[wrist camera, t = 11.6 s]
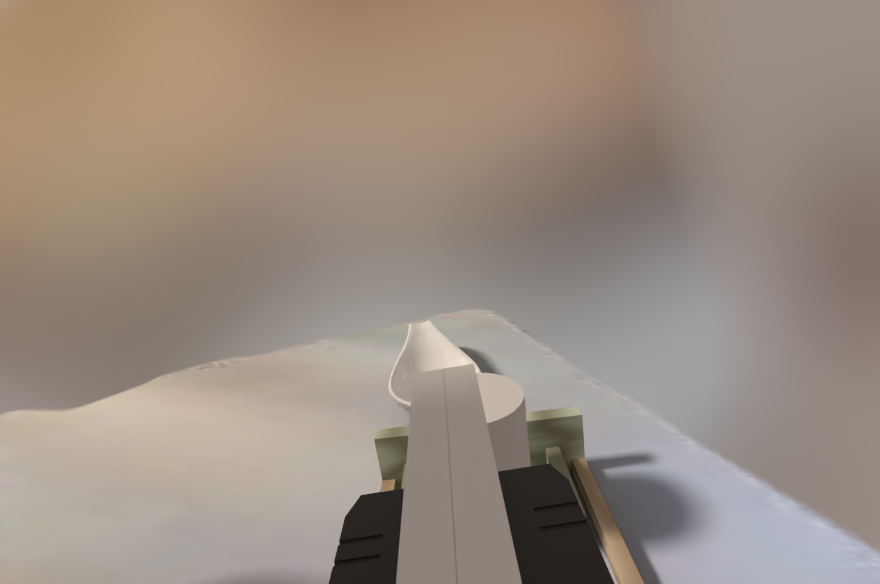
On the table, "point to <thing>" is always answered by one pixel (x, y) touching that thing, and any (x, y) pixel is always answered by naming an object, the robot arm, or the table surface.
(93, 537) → the table surface
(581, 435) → the wooden tray frame
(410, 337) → the spoon rest
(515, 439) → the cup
